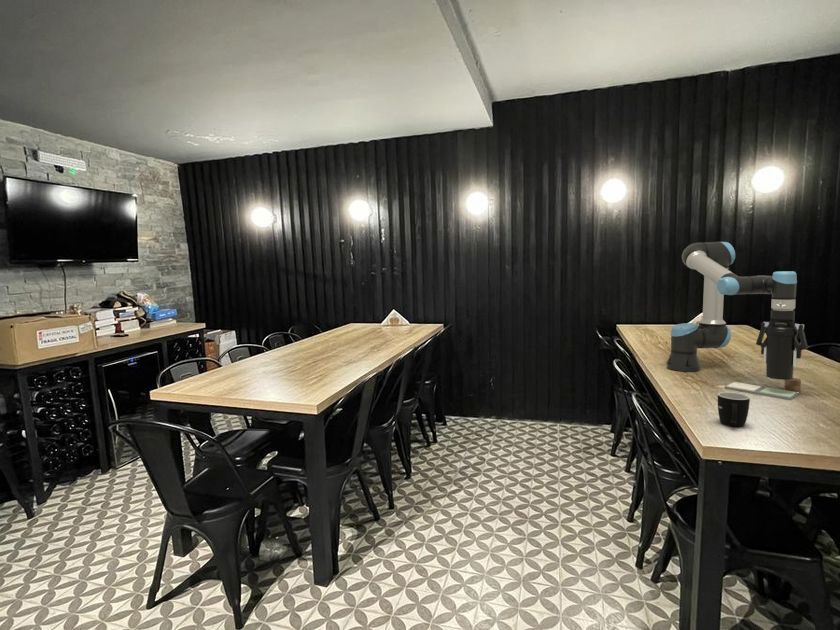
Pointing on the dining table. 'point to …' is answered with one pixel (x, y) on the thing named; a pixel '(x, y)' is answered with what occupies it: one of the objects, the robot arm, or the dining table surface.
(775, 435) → the dining table surface
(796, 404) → the dining table surface
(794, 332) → the black travel mug
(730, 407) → the mug
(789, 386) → the walnut block
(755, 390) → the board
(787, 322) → the robot arm
